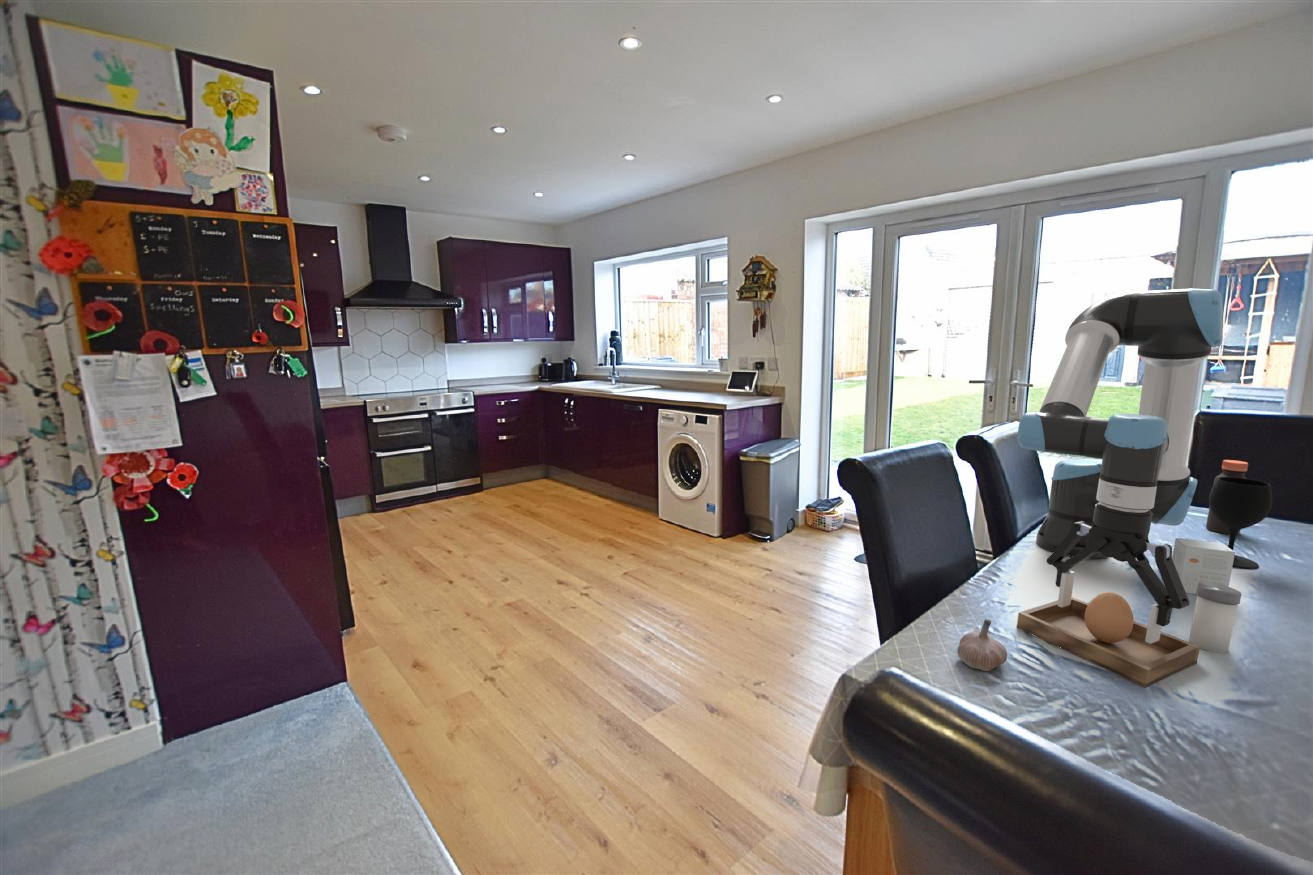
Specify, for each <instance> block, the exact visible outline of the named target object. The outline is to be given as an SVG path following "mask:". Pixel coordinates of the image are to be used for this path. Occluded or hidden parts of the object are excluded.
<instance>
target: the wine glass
mask: <svg viewBox="0 0 1313 875" xmlns="http://www.w3.org/2000/svg"><path fill="white" fill-rule="evenodd" d="M1272 491H1273V490H1272V487H1271V484H1270V483H1268V482H1264V481H1261V480H1257V479H1250V478H1247V479H1244V478H1235V477H1219V478H1218V479H1217V480H1216V482H1215V484H1214V483H1213V485H1212V488H1211V490H1210V493H1209V496H1208V502H1209V503H1208V504H1209V505H1208V506H1209V507H1210V509H1211V511H1212V512H1213V514H1214V515H1215V516H1216V518H1217V519H1218V520H1220V521H1221V522H1222V523H1223V524H1224V525H1226V526H1227V527H1228V528H1229V530H1230V534H1229V537H1228V544H1227V547H1229V548H1230V549H1231V550H1233V551H1234V548H1235V543H1236V542H1235V541H1236V538H1237V535H1238V534H1237V533H1238V531H1239V530H1240V531H1241V530H1243V529H1247V528H1250V527H1253V526H1255V525H1257V524H1259V523H1260V522H1262V521H1263V520H1265V519H1266V518H1267V516H1268V515H1269V514H1270V513H1271V512H1270V511H1271V509H1272V507H1273V492H1272ZM1259 567H1260V565H1259V563H1258V562H1256V561H1254V560H1252V559H1250V558H1246V557H1244V556H1241V555H1237V554H1235V555H1234V561H1233V566H1232V569H1233V568H1234V569H1241V570H1256V569H1258V568H1259Z"/></svg>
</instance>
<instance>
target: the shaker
mask: <svg viewBox="0 0 1313 875" xmlns="http://www.w3.org/2000/svg"><path fill="white" fill-rule="evenodd" d="M1195 595H1197V596H1196V600H1195V606H1194V611H1193V616H1192V621H1191V622H1192V623H1191V628H1190V633H1189V638H1188V642H1190V643H1192V644H1195V645H1198V646H1200V649H1203V650H1205V651H1209V652H1212V653H1218V654H1226V653H1229V650H1230V644H1231V641H1232V640H1231V639H1232V636H1233V635H1232V634H1233V630H1234V625H1235V622H1236V621H1235V620H1236V616H1237V610H1238V605H1240V603H1241V600H1242V595H1243V594H1242V592H1241V591H1240V590H1238V589H1235V588H1232V587H1231V586H1229V587H1228V586H1224V585H1220V584H1215V583H1208V582H1201V583H1198V586H1197V592H1196V594H1195Z"/></svg>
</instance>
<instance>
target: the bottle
mask: <svg viewBox="0 0 1313 875" xmlns="http://www.w3.org/2000/svg"><path fill="white" fill-rule="evenodd" d="M1248 467H1249V463H1248V462H1247V461H1241V460H1235V459H1234V460H1232V459H1223V460H1222V465H1221V470H1222V473H1220V474H1219V475H1216V476H1215V477H1214V481H1213V485H1214V484H1215V482H1216V480H1217V479H1218V478H1219V477H1235V478H1244V479H1248V478H1247V477H1246V476H1245V473H1246V474H1247V472H1248ZM1208 508H1209V509H1208V512H1207V513H1208V514H1207V518H1206V525H1205V527H1206V529H1207V530H1208V531H1211V532H1213V533H1214V532H1215V533H1217V534H1218V533H1219V534H1223V535H1224V534H1225V535H1230V530H1229V528H1228V527H1227V526H1226V525H1224V524H1223V523H1222V522H1221V521H1220V520H1218V519H1217V518H1216V516H1215V515H1214V514H1213V512H1212V511H1211V509H1210V506H1209V507H1208ZM1240 533H1241V530H1239V531H1238V533H1237V535H1239V534H1240Z"/></svg>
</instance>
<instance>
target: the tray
mask: <svg viewBox="0 0 1313 875" xmlns="http://www.w3.org/2000/svg"><path fill="white" fill-rule="evenodd" d="M1089 603H1090V602H1086V601H1083V600H1081V599H1078V598H1076V597H1073V596H1072V597H1071V604H1070V605H1068V606H1065V607H1062V608H1061V607H1059V606H1057V605H1058V599H1057V600H1054V601H1050V602H1048V603H1045V604H1041V605H1039V606H1035V607H1032V608H1028V609H1024V610H1023V611H1020V612H1018V616H1017V620H1016V621H1017V622H1016V629H1019V630H1021V629H1022V630H1021V631H1023V630H1024V631H1023V632H1025V631H1026V633H1027V634H1030V633H1031V634H1030V635H1032V634H1033V635H1032V636H1034V635H1035V636H1034V637H1036V638H1039V639H1041V640H1042V639H1043V641H1045V642H1047V643H1049V644H1051V645H1053V646H1056V647H1057V646H1058V647H1057V648H1060V647H1061V648H1060V649H1062V650H1065V651H1067V652H1068V651H1069V652H1068V653H1070V654H1072V655H1075V656H1076V657H1079V658H1081V659H1083V660H1086V661H1088V662H1090V663H1091V664H1094V665H1096V666H1098V667H1099V668H1102V669H1105V670H1106V671H1109V672H1111V673H1113V674H1115V675H1117V676H1120V677H1121V678H1124V679H1126V680H1128V681H1131V682H1132V683H1134V684H1137V685H1139V686H1140V687H1143V688H1147V687H1149V686H1151V685H1153V684H1156V683H1157V682H1159V681H1163V680H1164V679H1166V678H1168V677H1170V676H1172V675H1175V674H1176V673H1179V672H1181V671H1183V670H1186V669H1187V668H1190V667H1191V666H1194V665H1196V664H1198V660H1199V654H1200V650H1201V648H1200V646H1198V645H1195V644H1192V643H1191V642H1190V641H1187V640H1184V639H1182V638H1179V637H1176V636H1174V635H1171V634H1169V633H1167V632H1164V631H1161V634H1160V639H1159V640H1158V641H1156V642H1154V643H1151V644H1150V643H1147V642H1145V639H1146V633H1147V627H1148V625H1145V624H1143V623H1140V622H1138V621H1135V620H1134V624H1133V629H1132V631H1131V633H1130V635H1129V636H1128V637H1127V638H1125V639H1124V640H1122V641H1120V642H1117V643H1105V642H1102V641H1100V640H1098V639H1096V638H1095V637H1094V636H1093V635H1092V634H1091V633H1090V632H1089V630H1088V628H1087V626H1086V624H1085V618H1084V617H1085V611H1086V608H1087V606H1088V604H1089Z"/></svg>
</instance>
